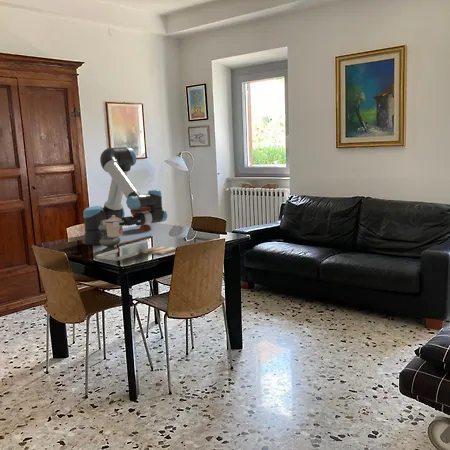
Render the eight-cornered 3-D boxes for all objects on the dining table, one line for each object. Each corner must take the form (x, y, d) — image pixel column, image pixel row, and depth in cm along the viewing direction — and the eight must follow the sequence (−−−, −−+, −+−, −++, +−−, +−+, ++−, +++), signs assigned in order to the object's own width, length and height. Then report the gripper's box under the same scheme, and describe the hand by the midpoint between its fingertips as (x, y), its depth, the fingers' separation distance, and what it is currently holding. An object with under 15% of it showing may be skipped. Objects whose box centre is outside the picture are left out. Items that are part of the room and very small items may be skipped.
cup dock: (87, 256, 274) (87, 254, 274) (109, 250, 288) (109, 248, 287) (116, 260, 261) (116, 258, 261) (138, 254, 275) (138, 251, 274)
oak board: (141, 252, 279) (141, 250, 278) (157, 247, 290) (157, 245, 290) (162, 255, 270) (162, 253, 270) (178, 250, 281) (178, 247, 281)
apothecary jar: (100, 249, 294) (97, 219, 291) (120, 247, 297) (118, 218, 294) (100, 253, 283) (97, 222, 280) (121, 251, 285) (118, 221, 282)
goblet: (126, 230, 355) (124, 197, 351) (141, 226, 372) (139, 194, 368) (148, 231, 347) (146, 197, 343) (163, 227, 364) (160, 194, 360)
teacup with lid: (123, 236, 266) (121, 215, 264) (106, 238, 264) (104, 217, 262) (123, 233, 277) (122, 212, 275) (107, 234, 276) (105, 214, 274)
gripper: (153, 227, 273) (119, 233, 259) (132, 222, 291) (98, 228, 276) (153, 213, 272) (118, 219, 258) (131, 210, 289) (97, 215, 275)
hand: (108, 223), depth 267 cm, fingers closed on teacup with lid, 11 cm apart
